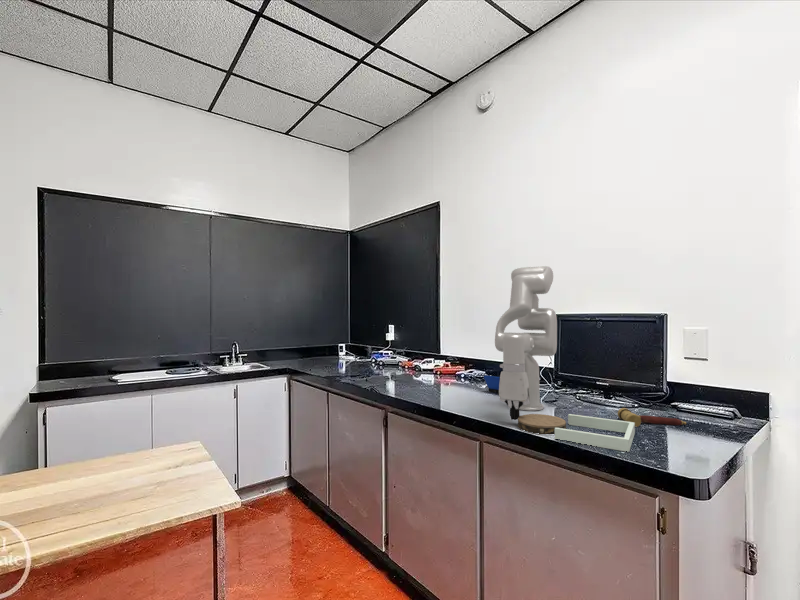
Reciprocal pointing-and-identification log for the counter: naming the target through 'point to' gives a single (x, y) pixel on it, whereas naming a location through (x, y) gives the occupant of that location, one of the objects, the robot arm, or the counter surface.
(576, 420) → the box
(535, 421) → the brown round disc
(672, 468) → the counter surface
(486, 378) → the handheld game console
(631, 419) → the gavel
